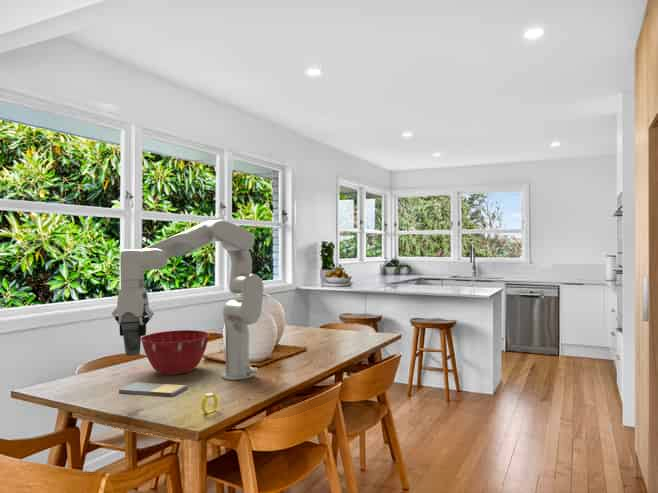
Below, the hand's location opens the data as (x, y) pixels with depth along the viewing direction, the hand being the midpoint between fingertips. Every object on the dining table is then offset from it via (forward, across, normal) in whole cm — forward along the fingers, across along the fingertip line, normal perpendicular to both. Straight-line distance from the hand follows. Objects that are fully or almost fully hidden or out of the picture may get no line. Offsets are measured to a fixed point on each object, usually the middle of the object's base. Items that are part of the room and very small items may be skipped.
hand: (132, 335), depth 173 cm
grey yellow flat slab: (+22, -1, -11) cm, 25 cm away
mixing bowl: (+23, +7, -40) cm, 46 cm away
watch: (+23, -33, +7) cm, 41 cm away
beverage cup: (+7, 0, 0) cm, 7 cm away
